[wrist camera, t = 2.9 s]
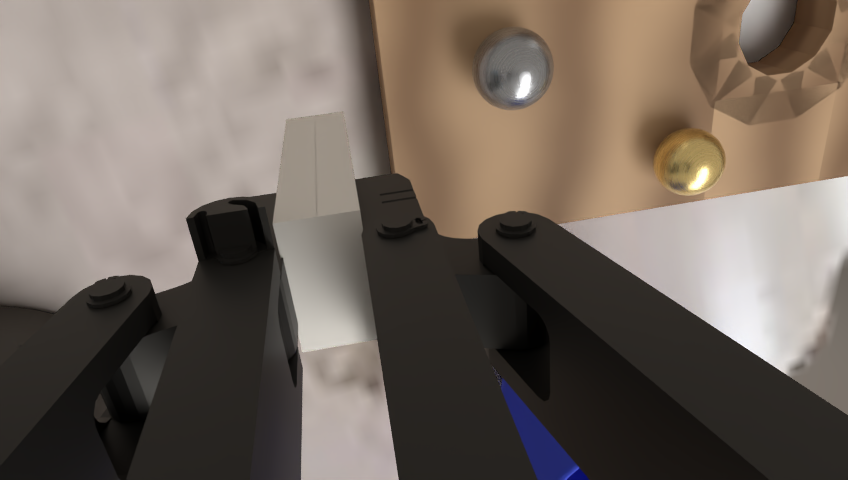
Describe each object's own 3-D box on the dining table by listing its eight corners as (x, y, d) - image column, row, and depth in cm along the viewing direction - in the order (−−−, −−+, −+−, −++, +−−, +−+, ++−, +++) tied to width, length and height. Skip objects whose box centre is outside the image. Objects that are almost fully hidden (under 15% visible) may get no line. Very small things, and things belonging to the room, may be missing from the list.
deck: (398, 227, 32) (409, 264, 28) (350, -143, 25) (357, -155, 21) (834, 156, 34) (895, 182, 31) (908, -198, 27) (999, -217, 23)
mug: (412, 337, 35) (448, 476, 26) (620, 301, 36) (721, 422, 27) (425, 447, 39) (461, 601, 30) (613, 411, 40) (701, 548, 31)
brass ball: (639, 185, 30) (671, 210, 28) (643, 125, 29) (677, 144, 26) (698, 176, 30) (735, 200, 28) (704, 115, 29) (745, 134, 26)
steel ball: (466, 104, 27) (485, 125, 24) (461, 26, 26) (480, 39, 23) (538, 94, 27) (565, 113, 25) (537, 16, 26) (566, 27, 23)
